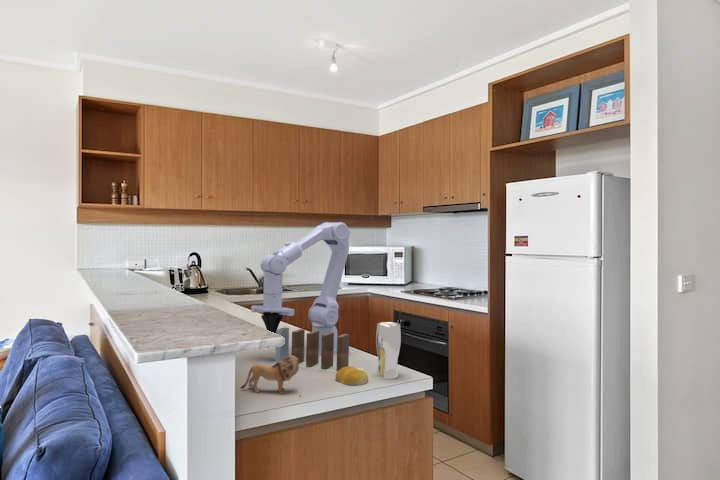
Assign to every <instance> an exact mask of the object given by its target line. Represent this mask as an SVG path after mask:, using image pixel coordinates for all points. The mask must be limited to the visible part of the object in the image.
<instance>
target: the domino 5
mask: <svg viewBox="0 0 720 480" xmlns="http://www.w3.org/2000/svg"><path fill="white" fill-rule="evenodd" d="M349 345H350V334H349V333H343V334H341V335H337V351H336V365H337V368H336V371H339V370H340V369H341V368H343V367H347V366H349V360H350V359H349V356H350V354H349V353H350V351H349V350H350V346H349Z"/></svg>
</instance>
